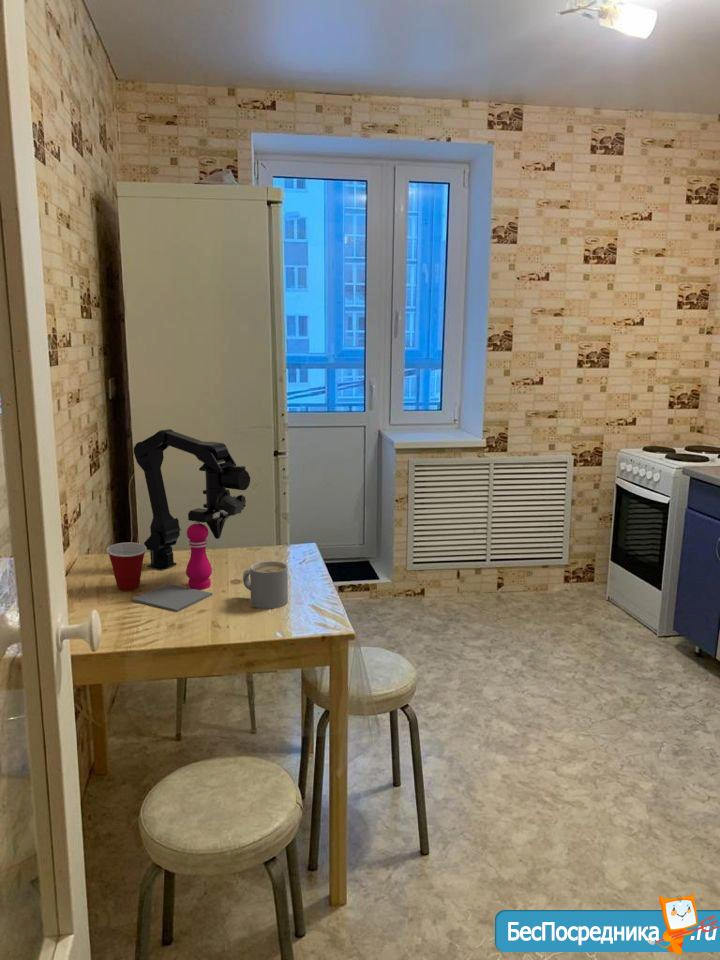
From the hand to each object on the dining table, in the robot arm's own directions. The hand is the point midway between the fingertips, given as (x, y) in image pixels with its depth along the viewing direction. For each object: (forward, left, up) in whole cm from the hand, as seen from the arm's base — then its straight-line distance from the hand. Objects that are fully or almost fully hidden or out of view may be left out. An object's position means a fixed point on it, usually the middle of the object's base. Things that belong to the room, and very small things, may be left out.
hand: (217, 538), depth 206 cm
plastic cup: (-16, -20, -12) cm, 28 cm away
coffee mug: (+23, -9, -12) cm, 27 cm away
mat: (0, -20, -12) cm, 23 cm away
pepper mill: (0, -9, -12) cm, 15 cm away
